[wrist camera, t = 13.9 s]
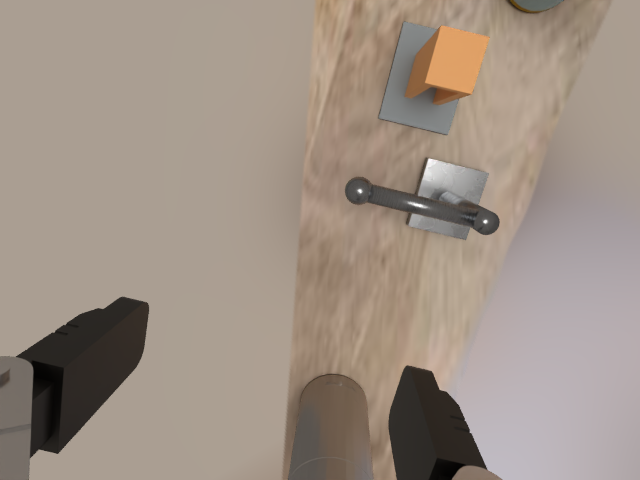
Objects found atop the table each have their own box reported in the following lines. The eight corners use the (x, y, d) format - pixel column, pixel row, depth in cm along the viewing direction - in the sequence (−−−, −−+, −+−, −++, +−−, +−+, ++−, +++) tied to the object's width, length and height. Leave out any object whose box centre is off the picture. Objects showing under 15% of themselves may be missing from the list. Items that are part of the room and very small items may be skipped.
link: (452, 63, 41) (489, 37, 31) (439, 105, 43) (471, 94, 32) (415, 54, 41) (441, 25, 31) (404, 96, 43) (424, 82, 32)
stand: (462, 236, 47) (511, 277, 33) (336, 206, 47) (334, 234, 33) (484, 171, 45) (547, 186, 31) (353, 140, 45) (357, 140, 31)
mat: (446, 134, 44) (447, 134, 43) (378, 118, 44) (378, 118, 43) (475, 40, 41) (477, 39, 41) (403, 23, 41) (404, 21, 41)
